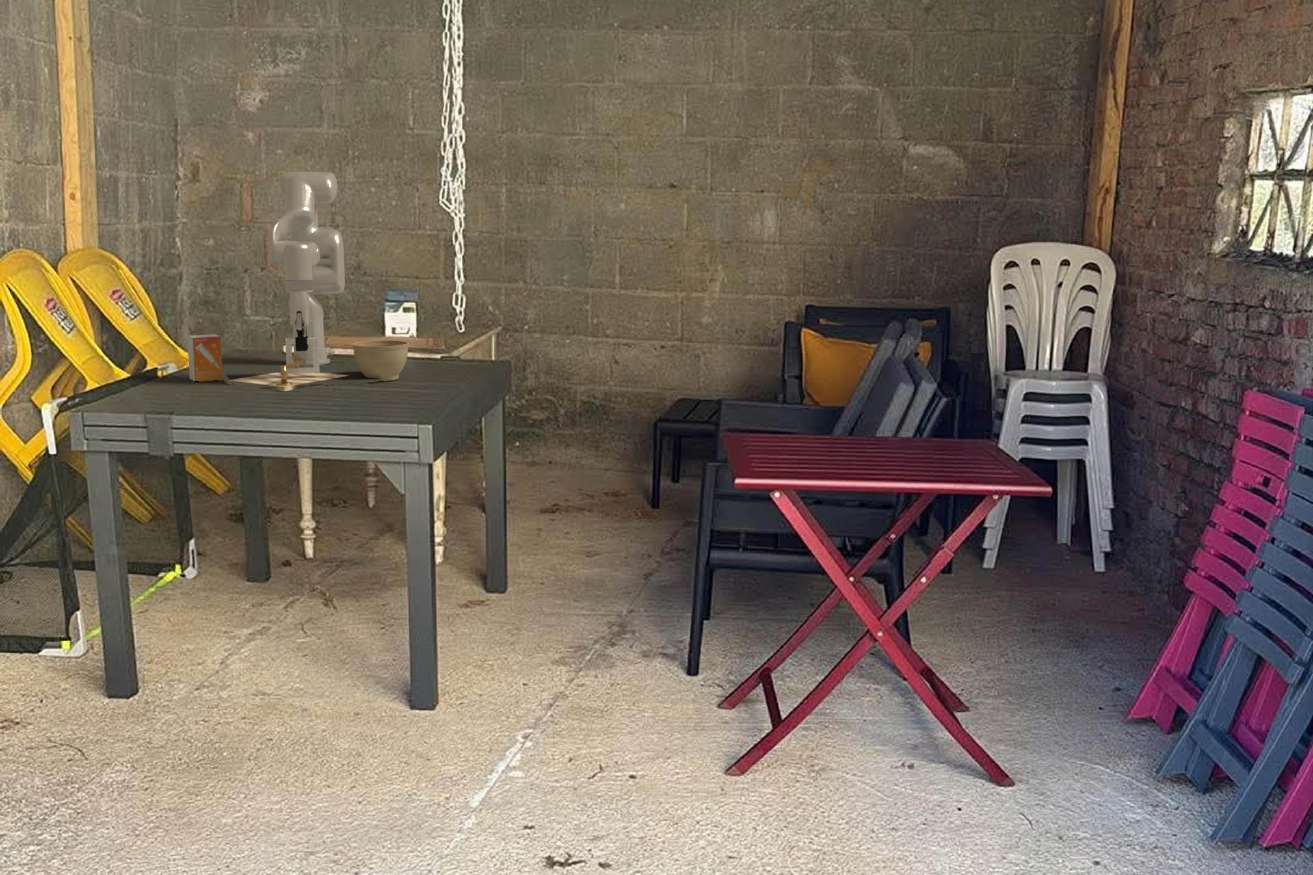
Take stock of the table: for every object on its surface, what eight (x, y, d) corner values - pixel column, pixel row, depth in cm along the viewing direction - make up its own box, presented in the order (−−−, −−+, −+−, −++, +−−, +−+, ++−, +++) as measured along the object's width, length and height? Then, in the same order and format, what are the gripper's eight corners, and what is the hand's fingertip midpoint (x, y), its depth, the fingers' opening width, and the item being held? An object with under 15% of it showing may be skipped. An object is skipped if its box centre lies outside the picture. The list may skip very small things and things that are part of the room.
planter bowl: (405, 374, 387) (404, 339, 385) (413, 382, 372) (412, 345, 370) (351, 376, 382) (350, 340, 380) (356, 384, 367) (355, 347, 365)
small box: (194, 382, 368) (192, 337, 366) (189, 379, 373) (186, 335, 371) (223, 380, 373) (221, 335, 370) (217, 377, 378) (215, 333, 375)
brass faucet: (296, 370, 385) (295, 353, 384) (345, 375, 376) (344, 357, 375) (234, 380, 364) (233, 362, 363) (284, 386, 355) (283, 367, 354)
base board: (294, 373, 387) (294, 369, 387) (349, 379, 377) (349, 375, 376) (227, 384, 365) (227, 380, 364) (284, 391, 354) (284, 386, 354)
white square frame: (287, 372, 372) (286, 337, 371) (319, 371, 374) (318, 337, 372) (286, 373, 370) (285, 339, 368) (319, 373, 371) (317, 338, 369)
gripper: (288, 284, 374) (290, 347, 378) (283, 288, 359) (286, 353, 362) (314, 284, 376) (317, 346, 379) (311, 288, 360) (313, 353, 363)
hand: (302, 349), depth 371 cm, fingers closed on white square frame, 3 cm apart
